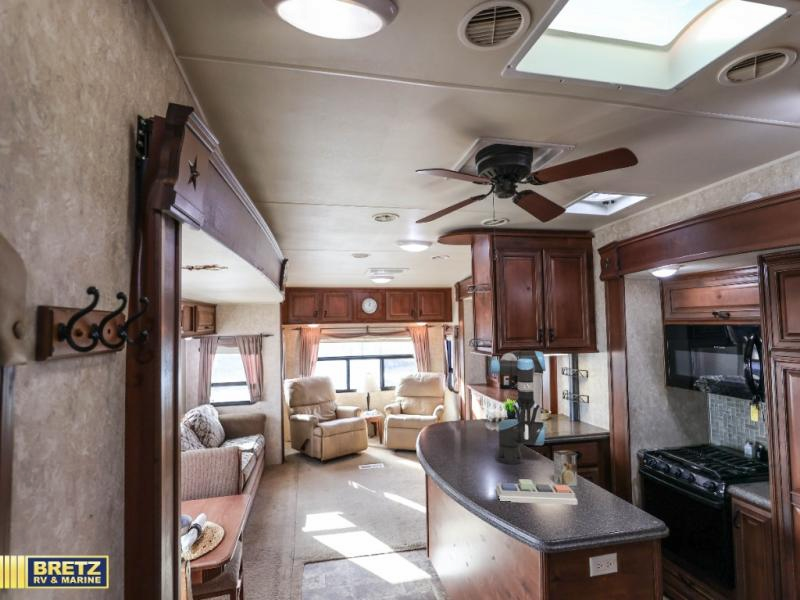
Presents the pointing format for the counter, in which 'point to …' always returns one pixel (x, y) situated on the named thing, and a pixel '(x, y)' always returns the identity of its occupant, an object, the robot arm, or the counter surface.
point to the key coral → (561, 489)
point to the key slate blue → (508, 487)
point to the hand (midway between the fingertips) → (526, 438)
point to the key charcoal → (543, 488)
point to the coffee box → (565, 468)
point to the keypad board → (536, 496)
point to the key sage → (526, 484)
